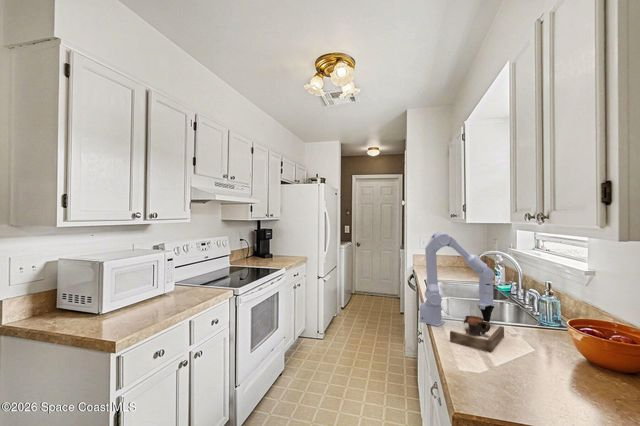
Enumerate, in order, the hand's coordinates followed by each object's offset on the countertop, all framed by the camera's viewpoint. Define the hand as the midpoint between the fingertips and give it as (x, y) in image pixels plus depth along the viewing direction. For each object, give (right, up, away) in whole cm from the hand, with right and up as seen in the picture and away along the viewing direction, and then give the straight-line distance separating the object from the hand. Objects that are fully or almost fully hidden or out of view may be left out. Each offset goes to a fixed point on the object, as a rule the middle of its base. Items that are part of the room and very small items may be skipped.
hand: (486, 321), depth 139 cm
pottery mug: (-9, -2, -9) cm, 13 cm away
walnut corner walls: (-13, -2, -15) cm, 20 cm away
